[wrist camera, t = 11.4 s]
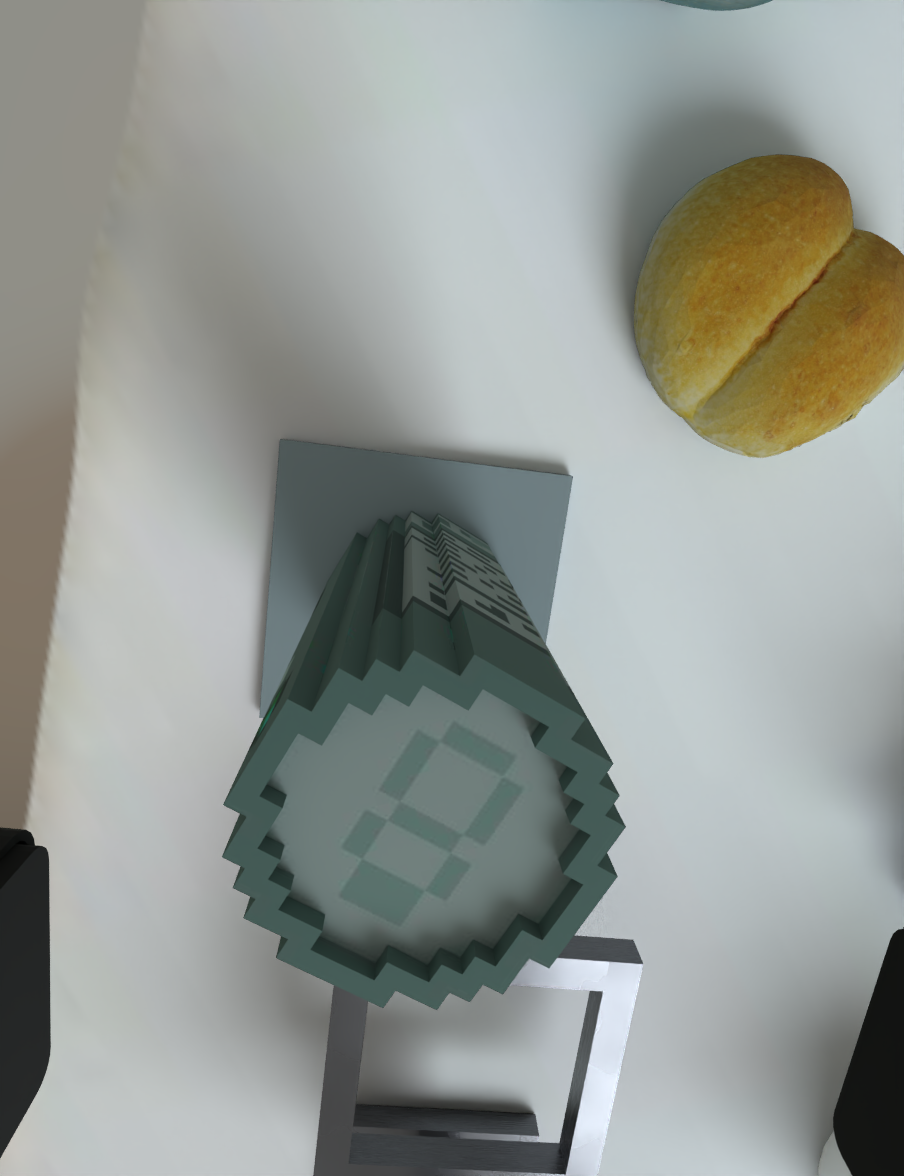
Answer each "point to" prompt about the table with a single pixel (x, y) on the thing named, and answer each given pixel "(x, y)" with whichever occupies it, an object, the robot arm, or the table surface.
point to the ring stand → (475, 1138)
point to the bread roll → (769, 307)
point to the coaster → (396, 487)
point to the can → (422, 780)
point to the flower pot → (719, 4)
